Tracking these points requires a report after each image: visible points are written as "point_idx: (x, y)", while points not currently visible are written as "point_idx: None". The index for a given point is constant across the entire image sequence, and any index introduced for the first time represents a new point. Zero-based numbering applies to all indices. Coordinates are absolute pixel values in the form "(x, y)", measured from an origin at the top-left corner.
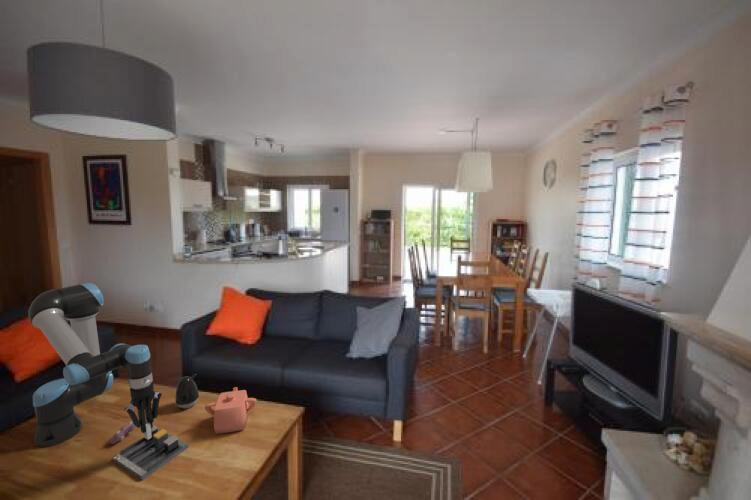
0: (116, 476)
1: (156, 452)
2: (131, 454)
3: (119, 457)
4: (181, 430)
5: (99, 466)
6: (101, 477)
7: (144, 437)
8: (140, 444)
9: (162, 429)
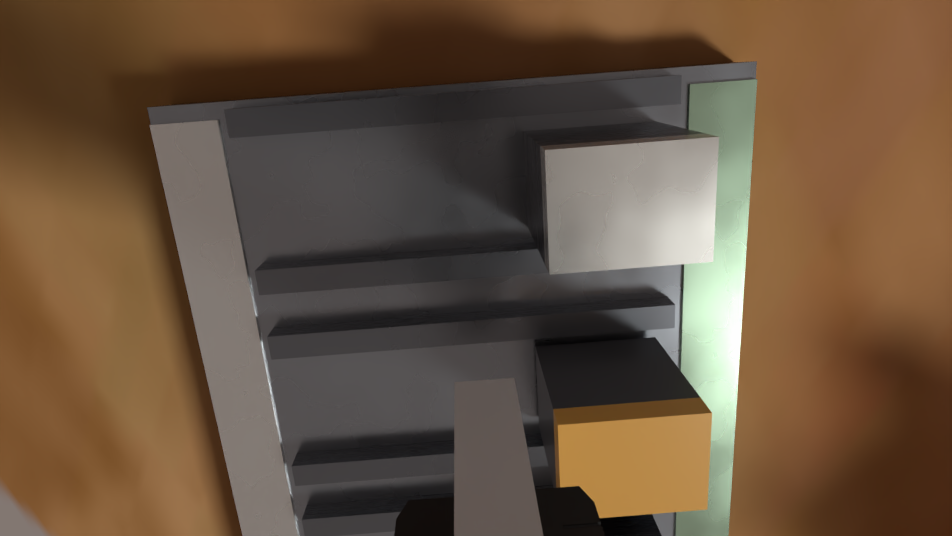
0: (133, 382)
1: None
2: (302, 291)
3: (200, 191)
4: (863, 272)
5: (30, 59)
6: (20, 270)
7: (455, 390)
8: (455, 166)
9: (702, 416)
